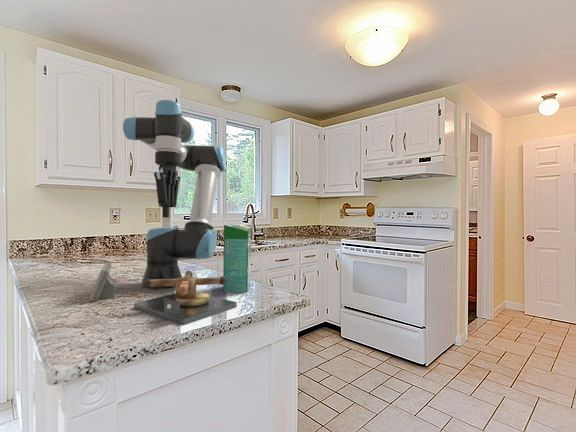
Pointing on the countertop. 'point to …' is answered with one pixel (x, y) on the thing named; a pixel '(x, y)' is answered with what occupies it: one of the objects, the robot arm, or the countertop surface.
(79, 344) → the countertop surface
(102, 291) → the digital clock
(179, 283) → the capstan
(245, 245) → the milk carton
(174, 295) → the stand
